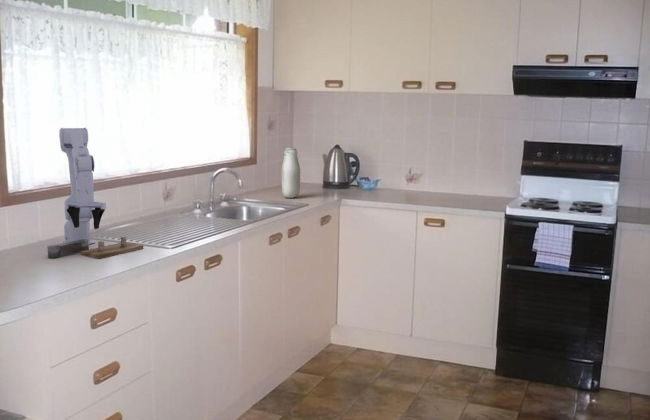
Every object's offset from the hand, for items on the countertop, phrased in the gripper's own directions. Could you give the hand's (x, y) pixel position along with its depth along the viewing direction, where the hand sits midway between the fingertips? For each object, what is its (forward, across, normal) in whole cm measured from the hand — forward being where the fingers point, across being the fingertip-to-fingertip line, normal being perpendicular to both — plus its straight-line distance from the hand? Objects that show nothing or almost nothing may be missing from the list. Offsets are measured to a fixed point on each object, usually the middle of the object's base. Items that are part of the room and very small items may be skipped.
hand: (86, 228), depth 246 cm
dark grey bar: (+10, -6, -2) cm, 12 cm away
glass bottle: (+10, +39, +148) cm, 153 cm away
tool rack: (+10, +7, +6) cm, 13 cm away
